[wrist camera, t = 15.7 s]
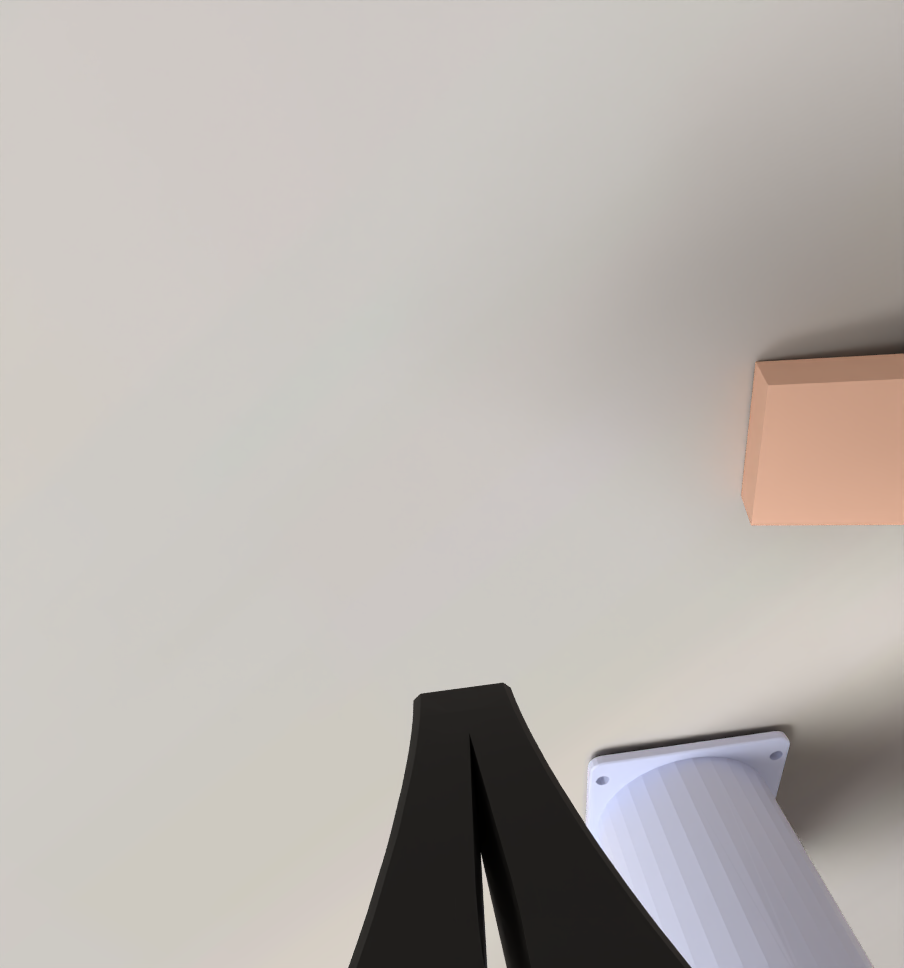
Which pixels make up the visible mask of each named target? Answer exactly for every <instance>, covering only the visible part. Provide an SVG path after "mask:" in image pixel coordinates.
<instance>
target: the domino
mask: <svg viewBox="0 0 904 968" xmlns="http://www.w3.org/2000/svg"><path fill="white" fill-rule="evenodd" d="M741 496H742V499H743V502H744V505H745V508H746V511H747V514H748V517H749V520H750V523H751V525H904V354H887V355H869V356H851V357H834V358H816V359H798V360H780V361H762V362H756V363H755V372H754V382H753V391H752V400H751V409H750V418H749V428H748V437H747V446H746V455H745V464H744V474H743V483H742V492H741Z"/></svg>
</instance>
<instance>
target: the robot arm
mask: <svg viewBox="0 0 904 968" xmlns="http://www.w3.org/2000/svg"><path fill="white" fill-rule="evenodd" d="M789 746H790V741H789V739H788V738H787V736H786V735H785V734H784V732H781V731H772V732H765V733H758V734H751V735H744V736H737V737H730V738H723V739H716V740H709V741H702V742H695V743H688V744H681V745H674V746H667V747H660V748H653V749H645V750H638V751H631V752H624V753H617V754H610V755H603V756H598V757H595V758H594V759H592V760H591V761H590V762H589V765H588V778H587V804H586V825H585V823H584V821H583V820H582V818H581V817H580V815H579V814H578V812H577V810H576V809H575V807H574V806H573V804H572V803H571V801H570V799H569V798H568V796H567V795H566V793H565V791H564V790H563V788H562V787H561V785H560V784H559V782H558V780H557V779H556V777H555V775H554V773H553V772H552V770H551V768H550V767H549V765H548V763H547V761H546V760H545V758H544V756H543V754H542V752H541V751H540V749H539V747H538V745H537V743H536V742H535V740H534V738H533V736H532V734H531V732H530V730H529V728H528V726H527V724H526V722H525V720H524V718H523V716H522V714H521V712H520V709H519V707H518V705H517V703H516V700H515V698H514V696H513V693H512V690H511V688H510V687H509V686H507V685H506V684H504V683H497V684H489V685H482V686H475V687H467V688H460V689H453V690H445V691H438V692H430V693H423V694H420V695H419V696H418V697H417V698H416V699H415V700H414V704H413V723H412V733H411V740H410V747H409V753H408V759H407V764H406V769H405V774H404V780H403V785H402V789H401V793H400V797H399V801H398V805H397V809H396V814H395V818H394V822H393V826H392V830H391V834H390V838H389V842H388V845H387V849H386V853H385V856H384V859H383V863H382V866H381V869H380V872H379V876H378V879H377V882H376V886H375V889H374V892H373V895H372V899H371V902H370V905H369V909H368V912H367V915H366V918H365V921H364V924H363V927H362V930H361V933H360V936H359V939H358V942H357V945H356V948H355V950H354V953H353V956H352V959H351V962H350V965H349V967H348V968H487V955H486V938H485V920H484V902H483V885H482V867H481V855H482V859H483V864H484V868H485V873H486V877H487V882H488V886H489V891H490V895H491V900H492V904H493V908H494V913H495V917H496V922H497V926H498V930H499V935H500V939H501V944H502V948H503V953H504V957H505V961H506V966H507V968H874V967H873V965H872V963H871V962H870V960H869V958H868V956H867V955H866V953H865V951H864V950H863V948H862V946H861V944H860V943H859V941H858V939H857V938H856V936H855V934H854V933H853V931H852V929H851V927H850V926H849V924H848V922H847V921H846V919H845V917H844V915H843V914H842V912H841V910H840V909H839V907H838V905H837V904H836V902H835V900H834V898H833V897H832V895H831V893H830V892H829V890H828V888H827V886H826V885H825V883H824V881H823V880H822V878H821V876H820V875H819V873H818V871H817V869H816V868H815V866H814V864H813V863H812V861H811V859H810V857H809V856H808V854H807V852H806V851H805V849H804V847H803V846H802V844H801V842H800V840H799V839H798V837H797V835H796V834H795V832H794V830H793V829H792V827H791V825H790V823H789V822H788V820H787V818H786V817H785V815H784V813H783V811H782V810H781V808H780V806H779V805H778V803H777V801H776V800H775V799H776V795H777V792H778V788H779V784H780V780H781V776H782V773H783V769H784V765H785V761H786V757H787V754H788V750H789Z"/></svg>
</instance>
